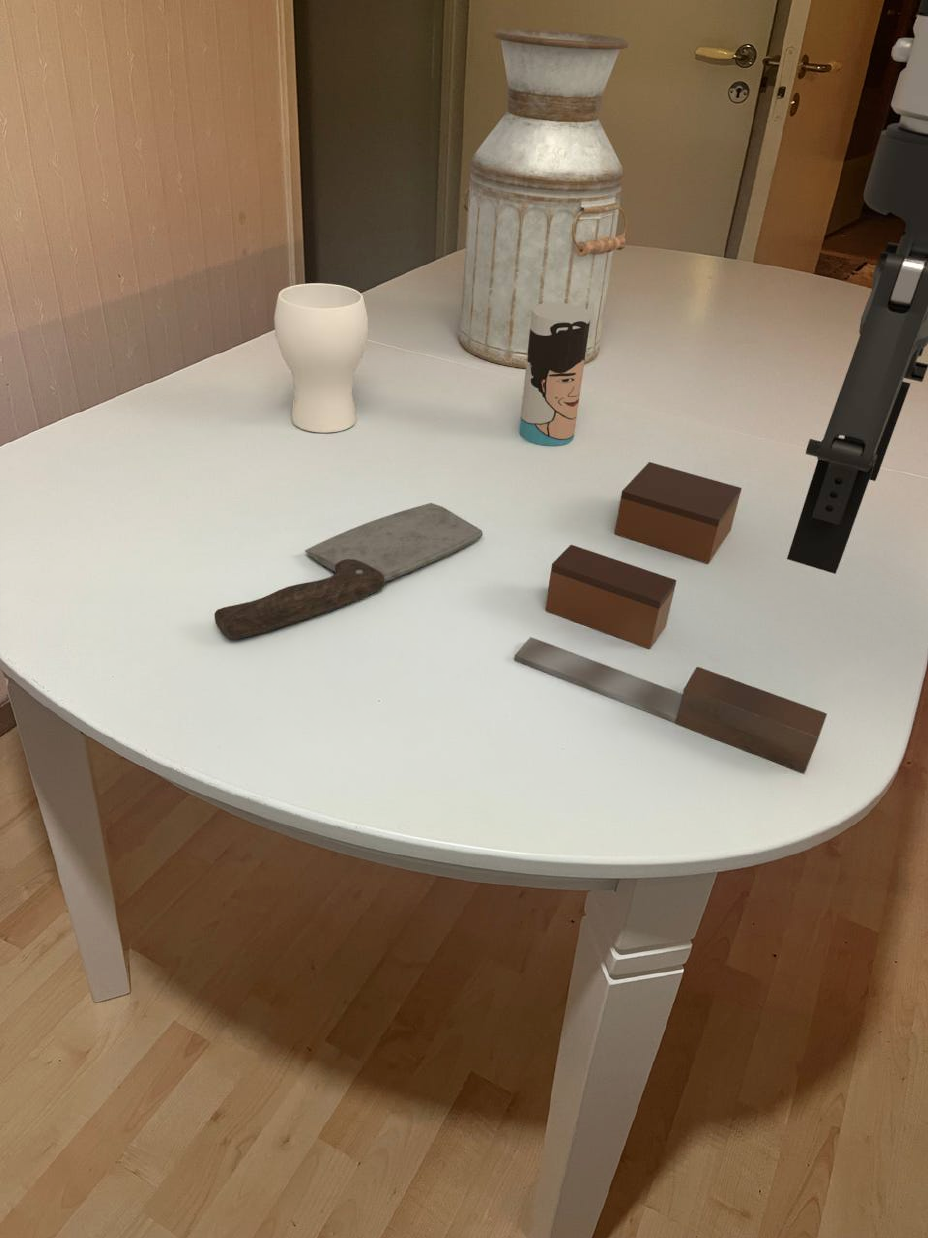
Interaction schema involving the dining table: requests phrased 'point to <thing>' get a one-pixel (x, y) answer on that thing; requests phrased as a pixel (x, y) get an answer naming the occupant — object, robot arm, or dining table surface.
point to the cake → (677, 511)
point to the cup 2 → (554, 373)
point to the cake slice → (610, 595)
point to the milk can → (542, 195)
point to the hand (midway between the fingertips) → (835, 515)
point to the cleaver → (355, 567)
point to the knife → (697, 704)
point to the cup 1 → (322, 351)
